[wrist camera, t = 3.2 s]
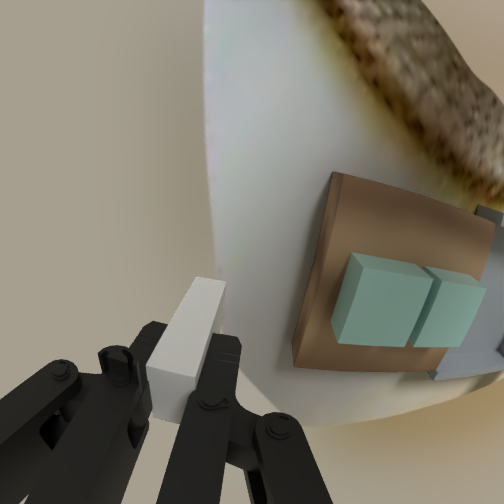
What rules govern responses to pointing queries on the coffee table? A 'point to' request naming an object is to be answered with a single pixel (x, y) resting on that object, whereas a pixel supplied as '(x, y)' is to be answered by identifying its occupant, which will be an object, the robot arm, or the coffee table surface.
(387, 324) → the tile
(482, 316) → the tray
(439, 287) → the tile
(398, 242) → the walnut board
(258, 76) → the coffee table surface
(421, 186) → the coffee table surface
